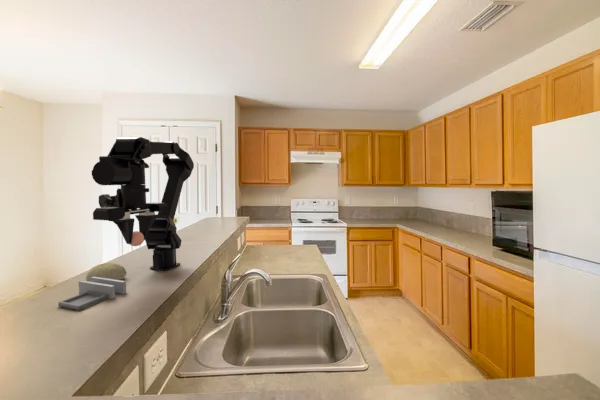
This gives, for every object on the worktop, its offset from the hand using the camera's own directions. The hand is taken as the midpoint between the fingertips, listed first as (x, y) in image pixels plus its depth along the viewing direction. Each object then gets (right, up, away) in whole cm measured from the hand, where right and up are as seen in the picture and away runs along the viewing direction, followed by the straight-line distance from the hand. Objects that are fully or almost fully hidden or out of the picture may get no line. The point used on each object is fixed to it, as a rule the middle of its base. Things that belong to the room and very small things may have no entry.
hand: (135, 242), depth 77 cm
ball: (0, -1, 0) cm, 1 cm away
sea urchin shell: (-9, -12, +2) cm, 15 cm away
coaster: (-5, -12, -12) cm, 18 cm away
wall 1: (-5, -12, -8) cm, 15 cm away
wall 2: (-4, -12, -5) cm, 13 cm away
